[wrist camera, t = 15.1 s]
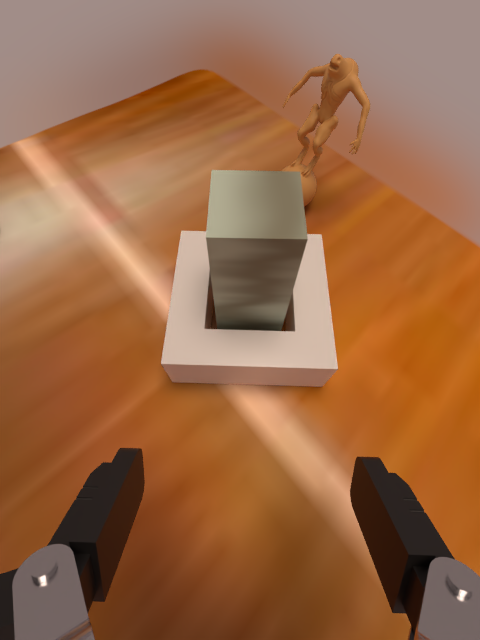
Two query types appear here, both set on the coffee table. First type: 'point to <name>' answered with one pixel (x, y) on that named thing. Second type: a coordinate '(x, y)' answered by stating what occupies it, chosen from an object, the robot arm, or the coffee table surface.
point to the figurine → (327, 114)
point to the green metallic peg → (254, 246)
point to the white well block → (248, 345)
